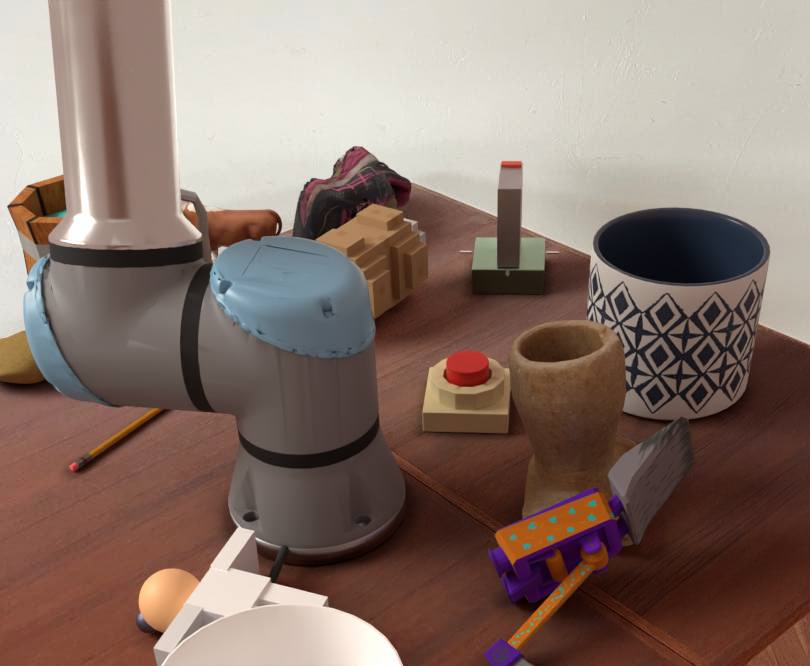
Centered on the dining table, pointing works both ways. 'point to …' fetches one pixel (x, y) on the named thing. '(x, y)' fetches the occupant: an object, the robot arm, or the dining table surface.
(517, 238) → the tap handle
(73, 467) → the pencil
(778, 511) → the dining table surface
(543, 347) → the stone cup
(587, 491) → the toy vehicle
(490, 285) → the tap panel
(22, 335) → the potato
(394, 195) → the athletic shoe
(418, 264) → the roast turkey
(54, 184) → the mug
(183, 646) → the bowl
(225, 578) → the figurine
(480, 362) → the red button
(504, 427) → the button box
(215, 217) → the bull figurine
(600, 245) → the planter
